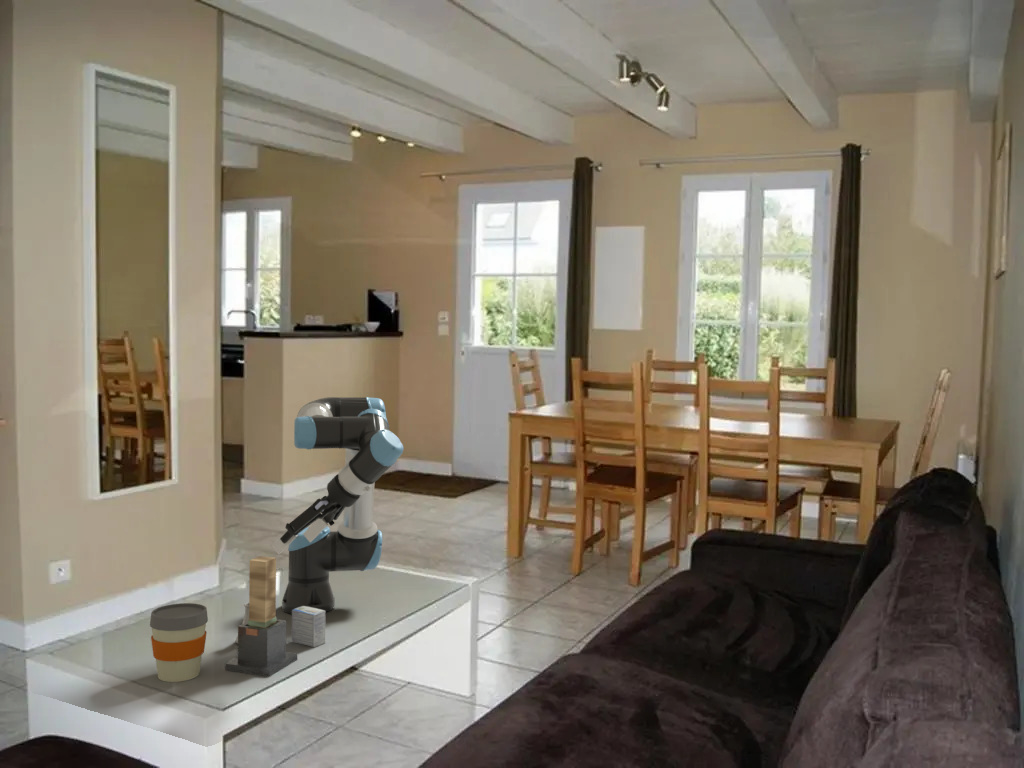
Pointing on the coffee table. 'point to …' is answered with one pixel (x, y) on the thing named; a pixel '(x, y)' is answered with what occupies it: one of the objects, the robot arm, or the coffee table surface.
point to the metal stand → (261, 650)
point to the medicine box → (308, 626)
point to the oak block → (262, 592)
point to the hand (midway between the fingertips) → (291, 543)
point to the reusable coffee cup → (178, 640)
